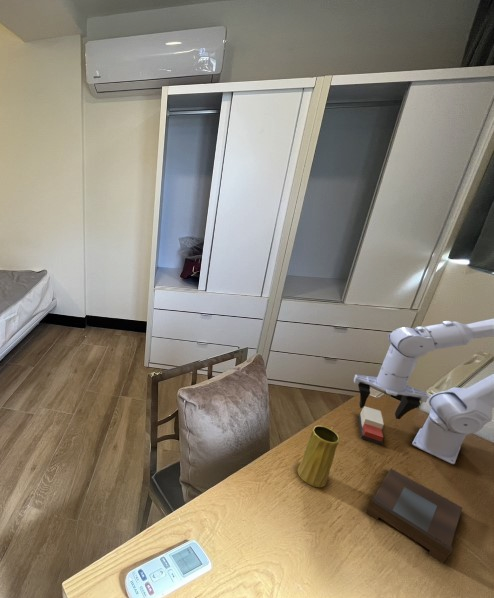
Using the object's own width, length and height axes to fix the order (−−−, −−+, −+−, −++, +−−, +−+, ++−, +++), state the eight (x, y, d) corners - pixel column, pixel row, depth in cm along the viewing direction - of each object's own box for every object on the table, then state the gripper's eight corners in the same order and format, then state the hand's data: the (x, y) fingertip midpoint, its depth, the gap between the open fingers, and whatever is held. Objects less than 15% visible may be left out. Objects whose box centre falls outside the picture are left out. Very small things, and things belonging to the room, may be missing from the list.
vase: (299, 482, 75) (313, 440, 70) (295, 462, 81) (308, 421, 75) (329, 491, 73) (346, 447, 68) (322, 469, 78) (338, 427, 73)
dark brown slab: (388, 473, 77) (393, 462, 75) (458, 513, 68) (466, 501, 66) (365, 512, 69) (371, 500, 67) (442, 563, 59) (451, 551, 58)
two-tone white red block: (358, 416, 95) (362, 405, 93) (376, 422, 92) (381, 411, 91) (361, 438, 87) (365, 426, 85) (381, 445, 85) (386, 433, 83)
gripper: (361, 370, 81) (347, 409, 87) (439, 389, 74) (417, 431, 79) (359, 357, 87) (345, 395, 92) (431, 374, 79) (411, 414, 84)
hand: (378, 411), depth 86 cm, fingers open, 7 cm apart
